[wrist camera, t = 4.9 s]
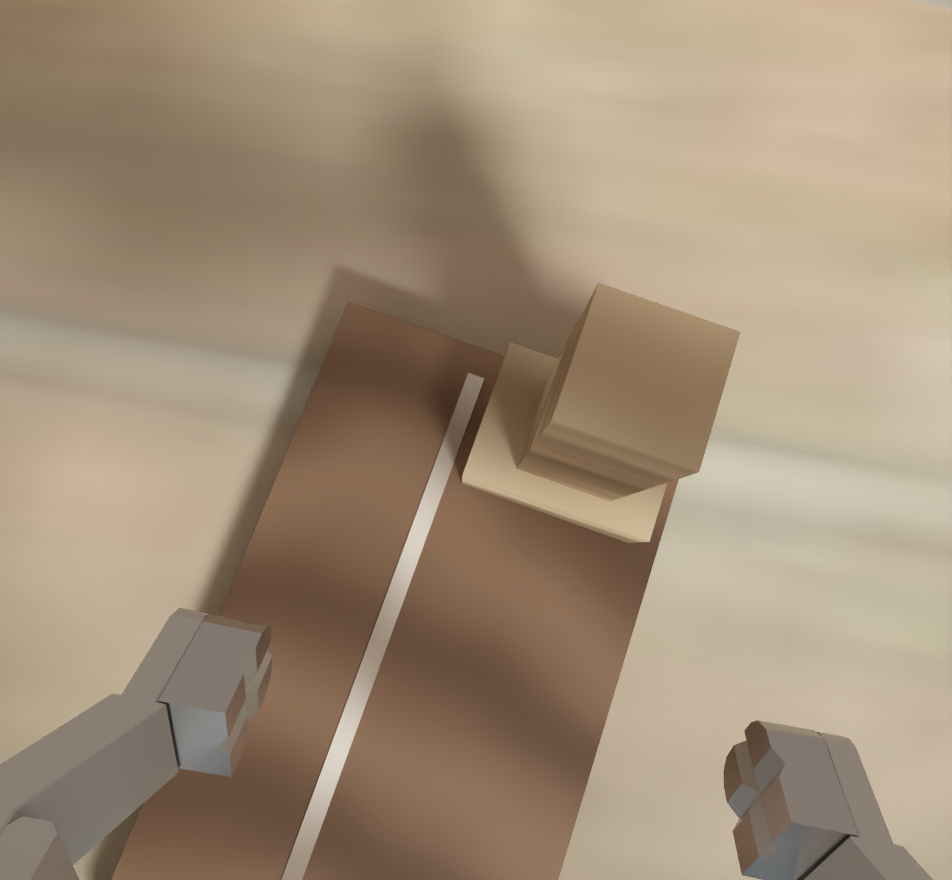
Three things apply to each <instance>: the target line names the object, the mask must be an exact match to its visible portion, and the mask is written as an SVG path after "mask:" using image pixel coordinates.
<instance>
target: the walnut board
mask: <svg viewBox="0 0 952 880" xmlns="http://www.w3.org/2000/svg"><path fill="white" fill-rule="evenodd" d="M504 358H505V357H504V356H501V355H498V354H495V353H492V352H490V351H487V350H484V349H481V348H478V347H475V346H472V345H470V344H467V343H464V342H461V341H458V340H455V339H452V338H449V337H447V336H444V335H441V334H438V333H435V332H432V331H429V330H427V329H424V328H421V327H418V326H415V325H412V324H409V323H407V322H404V321H401V320H398V319H395V318H392V317H389V316H387V315H384V314H381V313H378V312H375V311H372V310H369V309H367V308H364V307H361V306H358V305H355V304H352V303H349V302H348V304H347V306H346V309H345V311H344V314H343V316H342V318H341V321H340V323H339V326H338V328H337V331H336V333H335V335H334V338H333V340H332V343H331V345H330V348H329V350H328V353H327V355H326V357H325V360H324V362H323V365H322V367H321V370H320V372H319V374H318V377H317V379H316V382H315V384H314V387H313V389H312V392H311V394H310V396H309V399H308V401H307V404H306V406H305V409H304V411H303V413H302V416H301V418H300V421H299V423H298V426H297V428H296V431H295V433H294V435H293V438H292V440H291V443H290V445H289V448H288V450H287V452H286V455H285V457H284V460H283V462H282V465H281V467H280V470H279V472H278V474H277V477H276V479H275V482H274V484H273V487H272V489H271V491H270V494H269V496H268V499H267V501H266V504H265V506H264V509H263V511H262V513H261V516H260V518H259V521H258V523H257V526H256V528H255V530H254V533H253V535H252V538H251V540H250V543H249V545H248V548H247V550H246V552H245V555H244V557H243V560H242V562H241V565H240V567H239V569H238V572H237V574H236V577H235V579H234V582H233V584H232V587H231V589H230V591H229V594H228V596H227V599H226V601H225V604H224V606H223V608H222V611H221V613H220V616H221V617H226V618H231V619H235V620H240V621H245V622H250V623H255V624H259V625H264V626H269V627H271V638H272V640H271V642H270V644H269V647H268V649H267V651H268V652H269V653H270V654H271V655H272V670H271V677H270V681H269V685H268V688H267V692H266V695H265V698H264V700H263V703H262V706H261V708H260V711H259V712H258V713H257V714H256V715H254V716H253V717H252V718H250V719H249V720H248V721H247V722H248V740H247V742H246V744H245V747H244V749H243V752H242V754H241V756H240V759H239V761H238V764H237V766H236V768H235V771H234V773H233V776H232V777H228V776H222V775H216V774H210V773H203V772H197V771H191V770H185V769H179V768H178V770H179V772H178V773H177V774H176V775H175V776H174V777H173V778H171V779H170V780H169V781H168V782H167V783H166V784H165V785H163V786H162V787H161V788H160V789H159V790H158V791H157V792H156V793H154V794H153V795H152V796H151V797H150V798H149V799H148V800H146V801H145V802H144V803H143V804H142V806H141V808H140V811H139V813H138V816H137V818H136V821H135V823H134V825H133V828H132V830H131V833H130V835H129V838H128V840H127V842H126V845H125V847H124V850H123V852H122V855H121V857H120V860H119V862H118V864H117V867H116V869H115V872H114V874H113V877H112V879H111V880H558V878H559V875H560V871H561V868H562V865H563V861H564V858H565V855H566V851H567V848H568V845H569V841H570V838H571V835H572V831H573V828H574V825H575V821H576V818H577V815H578V811H579V808H580V805H581V801H582V798H583V795H584V792H585V788H586V785H587V782H588V778H589V775H590V772H591V768H592V765H593V762H594V758H595V755H596V752H597V748H598V745H599V742H600V738H601V735H602V732H603V728H604V725H605V722H606V718H607V715H608V712H609V708H610V705H611V702H612V699H613V695H614V692H615V689H616V685H617V682H618V679H619V675H620V672H621V669H622V665H623V662H624V659H625V655H626V652H627V649H628V645H629V642H630V639H631V635H632V632H633V629H634V625H635V622H636V619H637V615H638V612H639V609H640V605H641V602H642V599H643V596H644V592H645V589H646V586H647V582H648V579H649V576H650V572H651V569H652V566H653V562H654V559H655V556H656V552H657V549H658V546H659V542H660V539H661V536H662V532H663V529H664V526H665V522H666V519H667V516H668V512H669V509H670V506H671V503H672V499H673V496H674V493H675V489H676V486H677V483H678V479H676V480H673V481H670V482H668V483H667V486H666V489H665V492H664V496H663V499H662V502H661V506H660V509H659V512H658V515H657V519H656V522H655V525H654V529H653V532H652V535H651V539H650V542H637V543H627V542H624V541H621V540H619V539H616V538H613V537H610V536H607V535H604V534H602V533H599V532H596V531H593V530H590V529H588V528H585V527H582V526H579V525H576V524H574V523H571V522H568V521H565V520H562V519H560V518H557V517H554V516H551V515H548V514H546V513H543V512H540V511H537V510H534V509H532V508H529V507H526V506H523V505H520V504H518V503H515V502H512V501H509V500H506V499H503V498H501V497H498V496H495V495H492V494H489V493H487V492H484V491H481V490H478V489H475V488H473V487H470V486H467V485H464V484H462V475H463V472H464V469H465V467H466V464H467V461H468V458H469V455H470V453H471V450H472V447H473V444H474V442H475V439H476V436H477V433H478V430H479V428H480V425H481V422H482V419H483V417H484V414H485V411H486V408H487V405H488V403H489V400H490V397H491V394H492V392H493V389H494V386H495V383H496V380H497V378H498V375H499V372H500V369H501V367H502V364H503V361H504Z"/></svg>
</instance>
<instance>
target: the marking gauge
mask: <svg viewBox="0 0 952 880" xmlns="http://www.w3.org/2000/svg"><path fill="white" fill-rule="evenodd" d="M739 335H740V332H739V331H736V330H733V329H730V328H727V327H725V326H722V325H719V324H716V323H713V322H710V321H707V320H704V319H701V318H698V317H696V316H693V315H690V314H687V313H684V312H681V311H678V310H675V309H672V308H669V307H667V306H664V305H661V304H658V303H655V302H652V301H649V300H646V299H643V298H641V297H638V296H635V295H632V294H629V293H626V292H623V291H620V290H617V289H614V288H612V287H609V286H606V285H603V284H600V283H598V285H597V287H596V289H595V290H594V292H593V294H592V296H591V298H590V300H589V302H588V304H587V306H586V308H585V309H584V311H583V313H582V315H581V317H580V319H579V321H578V323H577V325H576V327H575V328H574V330H573V332H572V334H571V336H570V338H569V340H568V342H567V344H566V346H565V347H564V349H563V351H562V353H561V355H560V357H559V359H558V358H555V357H553V356H550V355H547V354H544V353H541V352H538V351H535V350H532V349H530V348H527V347H524V346H521V345H518V344H515V343H512V342H510V344H509V347H508V350H507V353H506V355H505V358H504V361H503V364H502V367H501V369H500V372H499V375H498V378H497V380H496V383H495V386H494V389H493V392H492V394H491V397H490V400H489V403H488V405H487V408H486V411H485V414H484V417H483V419H482V422H481V425H480V428H479V430H478V433H477V436H476V439H475V442H474V444H473V447H472V450H471V453H470V455H469V458H468V461H467V464H466V467H465V469H464V472H463V475H462V484H464V485H467V486H470V487H473V488H475V489H478V490H481V491H484V492H487V493H489V494H492V495H495V496H498V497H501V498H503V499H506V500H509V501H512V502H515V503H518V504H520V505H523V506H526V507H529V508H532V509H534V510H537V511H540V512H543V513H546V514H548V515H551V516H554V517H557V518H560V519H562V520H565V521H568V522H571V523H574V524H576V525H579V526H582V527H585V528H588V529H590V530H593V531H596V532H599V533H602V534H604V535H607V536H610V537H613V538H616V539H619V540H621V541H624V542H627V543H637V542H650V539H651V535H652V532H653V529H654V525H655V522H656V519H657V515H658V512H659V509H660V506H661V502H662V499H663V496H664V492H665V489H666V486H667V483H668V482H670V481H673V480H676V479H679V478H682V477H685V476H688V475H691V474H694V473H697V472H699V470H700V466H701V463H702V460H703V456H704V453H705V449H706V446H707V443H708V439H709V436H710V433H711V429H712V426H713V422H714V419H715V416H716V412H717V409H718V406H719V402H720V399H721V395H722V392H723V389H724V385H725V382H726V379H727V375H728V372H729V368H730V365H731V362H732V358H733V355H734V352H735V348H736V345H737V341H738V338H739Z"/></svg>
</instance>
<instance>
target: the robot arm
mask: <svg viewBox="0 0 952 880" xmlns="http://www.w3.org/2000/svg"><path fill="white" fill-rule="evenodd" d="M271 640H272V638H271V627H269V626H264V625H259V624H255V623H250V622H245V621H240V620H235V619H231V618H226V617H221V616H216V615H211V614H208V613H203V612H198V611H193V610H187V609H182V608H178V609H177V610H176V611H175V612H174V613H173V614H172V615H171V616H170V617H169V619H168V620H167V622H166V624H165V625H164V627H163V629H162V630H161V632H160V633H159V635H158V637H157V638H156V640H155V642H154V643H153V645H152V646H151V648H150V650H149V651H148V653H147V655H146V656H145V658H144V659H143V661H142V663H141V664H140V666H139V667H138V669H137V671H136V672H135V674H134V676H133V677H132V679H131V680H130V682H129V684H128V685H127V687H126V689H125V690H124V692H123V693H122V695H117V694H111V695H109V696H108V697H106V698H105V699H103V700H101V701H100V702H98V703H97V704H95V705H94V706H92V707H90V708H89V709H87V710H86V711H84V712H83V713H81V714H79V715H78V716H76V717H75V718H73V719H72V720H70V721H68V722H67V723H65V724H64V725H62V726H61V727H59V728H57V729H56V730H54V731H53V732H51V733H50V734H48V735H46V736H45V737H43V738H42V739H40V740H39V741H37V742H35V743H34V744H32V745H31V746H29V747H28V748H26V749H24V750H23V751H21V752H20V753H18V754H16V755H15V756H13V757H12V758H10V759H9V760H7V761H5V762H4V763H2V764H1V765H0V880H79V878H78V876H77V874H76V872H75V870H74V867H73V865H74V864H75V863H76V862H77V861H78V860H80V859H81V858H82V857H83V856H84V855H85V854H86V853H88V852H89V851H90V850H91V849H92V848H93V847H94V846H95V845H97V844H98V843H99V842H100V841H101V840H102V839H103V838H105V837H106V836H107V835H108V834H109V833H110V832H111V831H112V830H114V829H115V828H116V827H117V826H118V825H119V824H120V823H122V822H123V821H124V820H125V819H126V818H127V817H128V816H129V815H131V814H132V813H133V812H134V811H135V810H136V809H137V808H139V807H140V806H141V805H142V804H143V803H144V802H145V801H146V800H148V799H149V798H150V797H151V796H152V795H153V794H154V793H156V792H157V791H158V790H159V789H160V788H161V787H162V786H163V785H165V784H166V783H167V782H168V781H169V780H170V779H171V778H173V777H174V776H175V775H176V774H177V773H178V772H179V770H178V768H179V769H185V770H191V771H197V772H203V773H210V774H216V775H222V776H228V777H232V776H233V773H234V771H235V768H236V766H237V764H238V761H239V759H240V756H241V754H242V752H243V749H244V747H245V744H246V742H247V740H248V722H247V721H248V720H249V719H250V718H252V717H253V716H254V715H256V714H257V713H258V712H259V711H260V708H261V706H262V703H263V700H264V698H265V695H266V692H267V688H268V685H269V681H270V677H271V670H272V655H271V654H270V653H269V652H268V651H267V649H268V647H269V644H270V642H271ZM745 735H746V740H747V741H744V742H742V743H739V744H736V745H734V746H733V748H732V749H731V751H730V752H729V754H728V756H727V758H726V763H725V768H724V789H725V794H726V799H727V803H728V804H729V806H730V807H731V808H732V810H733V811H734V812H735V814H736V815H737V816H738V818H739V820H738V822H737V824H736V826H735V828H734V830H733V834H734V839H735V844H736V849H737V854H738V858H739V863H740V868H741V873H742V875H744V876H748V877H753V878H757V879H762V880H933V879H932V878H931V877H930V876H929V875H928V874H927V872H926V871H925V870H924V869H923V868H922V867H921V866H920V865H919V864H918V863H917V861H916V860H915V859H914V858H913V857H912V856H911V855H910V854H909V853H908V851H907V850H906V849H905V848H904V847H903V846H900V845H896V844H893V841H892V839H891V836H890V834H889V831H888V829H887V826H886V824H885V821H884V818H883V816H882V813H881V811H880V808H879V806H878V803H877V801H876V798H875V795H874V793H873V790H872V788H871V785H870V783H869V780H868V778H867V775H866V772H865V770H864V767H863V765H862V762H861V760H860V757H859V754H858V752H857V749H856V747H855V745H854V744H853V743H852V742H851V740H850V739H848V738H846V737H843V736H837V735H832V734H826V733H820V732H815V731H814V730H809V729H803V728H798V727H792V726H786V725H781V724H775V723H769V722H764V721H755V722H751V723H750V724H749V726H748V727H747V728H746V730H745Z"/></svg>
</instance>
